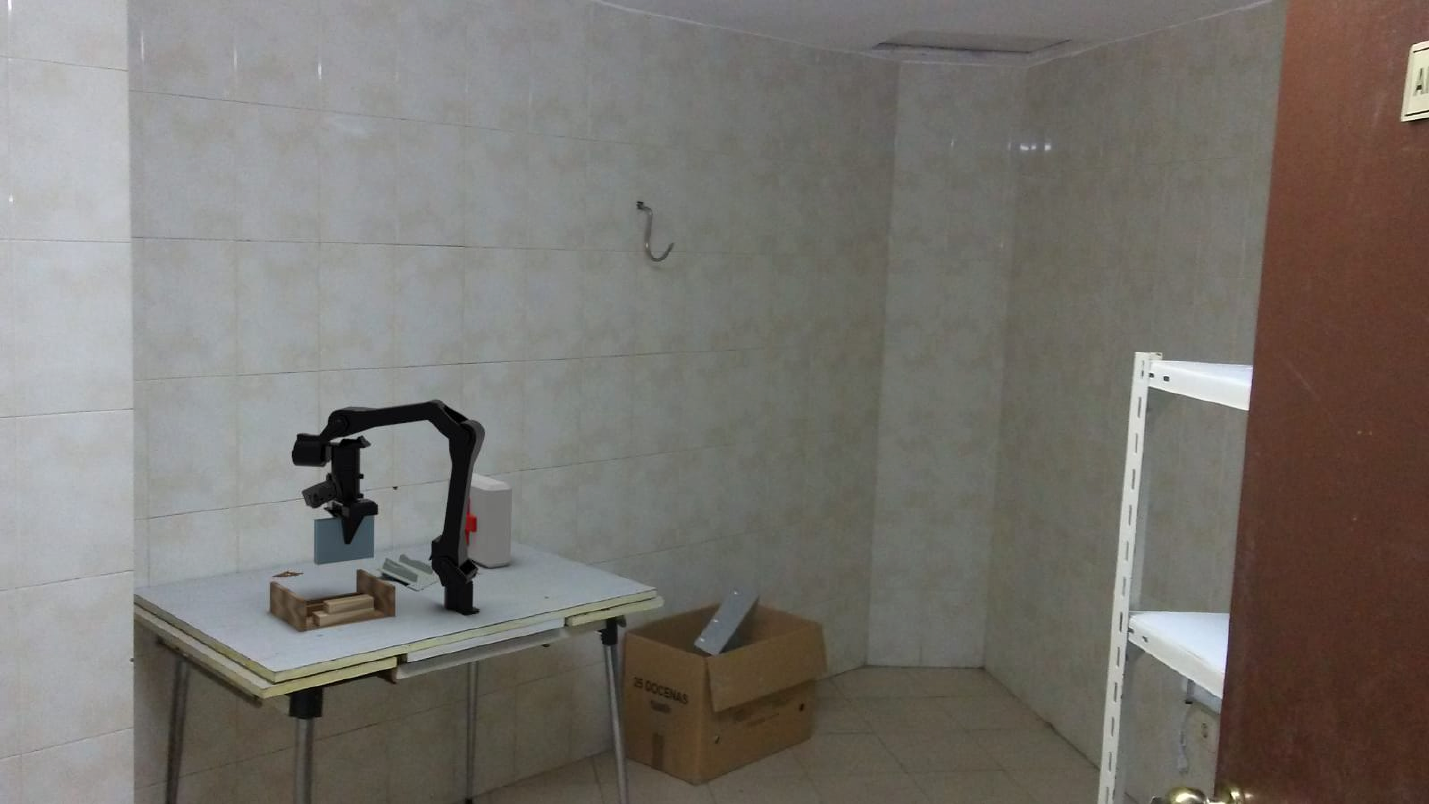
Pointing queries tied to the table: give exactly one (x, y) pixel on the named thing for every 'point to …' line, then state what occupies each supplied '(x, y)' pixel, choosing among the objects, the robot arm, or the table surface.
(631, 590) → the table surface
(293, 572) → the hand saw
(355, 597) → the upper offcut
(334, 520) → the panel
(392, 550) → the table surface
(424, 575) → the metal bracket
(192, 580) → the table surface
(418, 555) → the table surface
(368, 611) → the lower offcut
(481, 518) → the bevelled white case
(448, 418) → the robot arm
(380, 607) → the rack
